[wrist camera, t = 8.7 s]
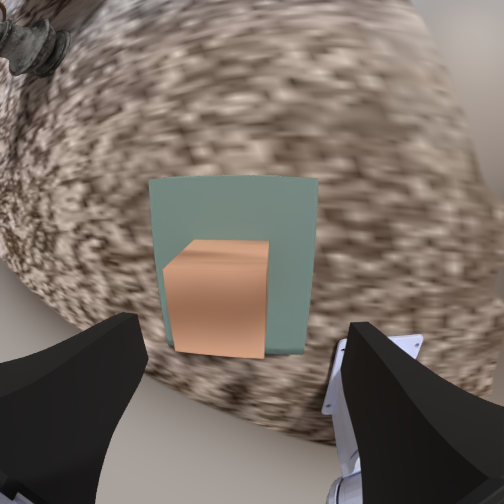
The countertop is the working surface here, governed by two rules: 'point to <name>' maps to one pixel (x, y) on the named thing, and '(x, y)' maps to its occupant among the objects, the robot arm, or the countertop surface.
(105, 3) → the countertop surface
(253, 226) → the book
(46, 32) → the salt shaker
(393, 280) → the countertop surface
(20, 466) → the robot arm
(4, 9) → the tin
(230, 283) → the block
